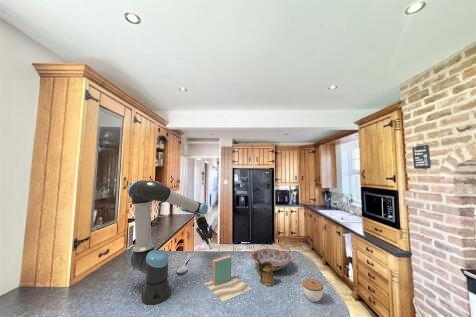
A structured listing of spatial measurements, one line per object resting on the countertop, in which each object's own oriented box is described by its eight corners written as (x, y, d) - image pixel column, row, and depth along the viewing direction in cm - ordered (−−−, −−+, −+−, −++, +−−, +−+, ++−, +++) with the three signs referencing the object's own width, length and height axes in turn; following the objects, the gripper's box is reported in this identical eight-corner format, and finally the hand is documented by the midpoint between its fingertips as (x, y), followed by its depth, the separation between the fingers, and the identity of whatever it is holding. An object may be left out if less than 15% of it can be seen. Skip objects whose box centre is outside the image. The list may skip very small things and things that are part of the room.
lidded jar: (321, 294, 110) (321, 276, 111) (325, 306, 99) (325, 287, 100) (301, 291, 112) (301, 274, 113) (303, 303, 102) (303, 284, 103)
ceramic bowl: (290, 280, 124) (289, 267, 125) (246, 274, 133) (245, 261, 134) (292, 261, 151) (292, 251, 152) (256, 257, 161) (255, 247, 161)
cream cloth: (204, 284, 120) (204, 283, 120) (230, 274, 132) (230, 273, 132) (223, 303, 103) (223, 301, 103) (251, 289, 115) (251, 288, 115)
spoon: (185, 276, 132) (185, 272, 132) (173, 276, 131) (173, 272, 132) (194, 257, 166) (194, 253, 167) (185, 257, 166) (185, 253, 166)
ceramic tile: (212, 283, 120) (212, 260, 121) (228, 277, 127) (228, 255, 128) (215, 286, 117) (215, 261, 119) (231, 279, 124) (231, 256, 126)
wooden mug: (251, 280, 125) (251, 251, 127) (272, 278, 127) (271, 249, 129) (254, 287, 116) (254, 256, 118) (276, 286, 118) (275, 255, 120)
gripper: (206, 221, 156) (217, 248, 141) (191, 223, 148) (201, 253, 133) (209, 215, 152) (221, 243, 137) (194, 217, 144) (204, 247, 129)
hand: (211, 248), depth 135 cm, fingers closed
